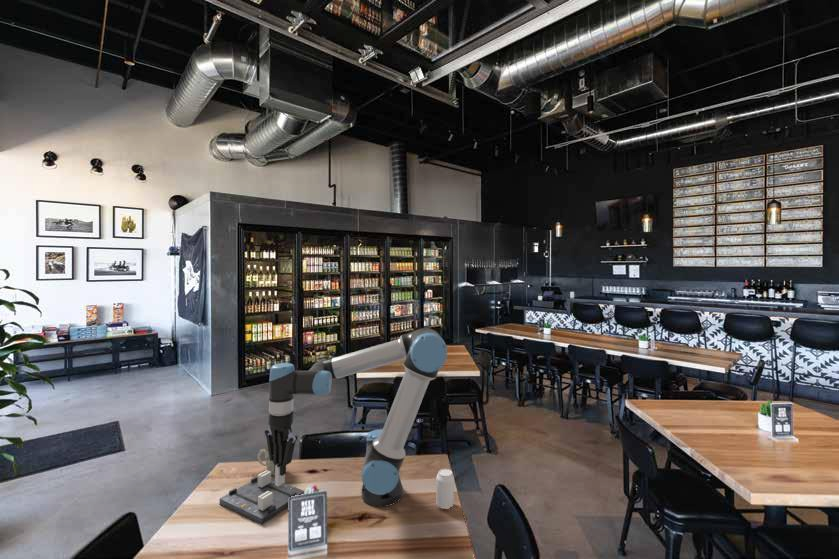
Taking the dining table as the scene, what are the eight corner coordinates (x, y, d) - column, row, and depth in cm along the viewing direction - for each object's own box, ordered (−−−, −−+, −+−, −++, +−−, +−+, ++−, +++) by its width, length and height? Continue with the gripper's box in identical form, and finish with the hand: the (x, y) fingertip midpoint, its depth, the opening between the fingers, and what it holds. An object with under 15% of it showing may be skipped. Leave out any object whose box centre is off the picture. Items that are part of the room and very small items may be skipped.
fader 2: (272, 504, 128) (272, 492, 128) (262, 510, 124) (262, 498, 124) (267, 502, 129) (267, 490, 129) (257, 508, 126) (257, 496, 125)
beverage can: (457, 506, 132) (457, 472, 132) (446, 514, 127) (446, 479, 127) (443, 498, 136) (444, 465, 136) (432, 506, 131) (432, 472, 131)
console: (304, 496, 137) (304, 488, 137) (261, 524, 121) (262, 515, 121) (263, 479, 147) (263, 472, 147) (219, 504, 131) (219, 495, 131)
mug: (278, 478, 149) (278, 452, 148) (250, 474, 151) (250, 449, 151) (290, 467, 157) (290, 443, 157) (263, 464, 159) (263, 440, 159)
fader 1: (271, 482, 141) (271, 471, 141) (261, 487, 138) (262, 476, 138) (266, 480, 143) (266, 469, 143) (257, 485, 139) (257, 474, 139)
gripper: (304, 412, 123) (303, 484, 123) (276, 404, 129) (275, 473, 129) (286, 419, 116) (284, 495, 117) (258, 411, 123) (256, 483, 123)
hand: (279, 483), depth 123 cm, fingers closed
